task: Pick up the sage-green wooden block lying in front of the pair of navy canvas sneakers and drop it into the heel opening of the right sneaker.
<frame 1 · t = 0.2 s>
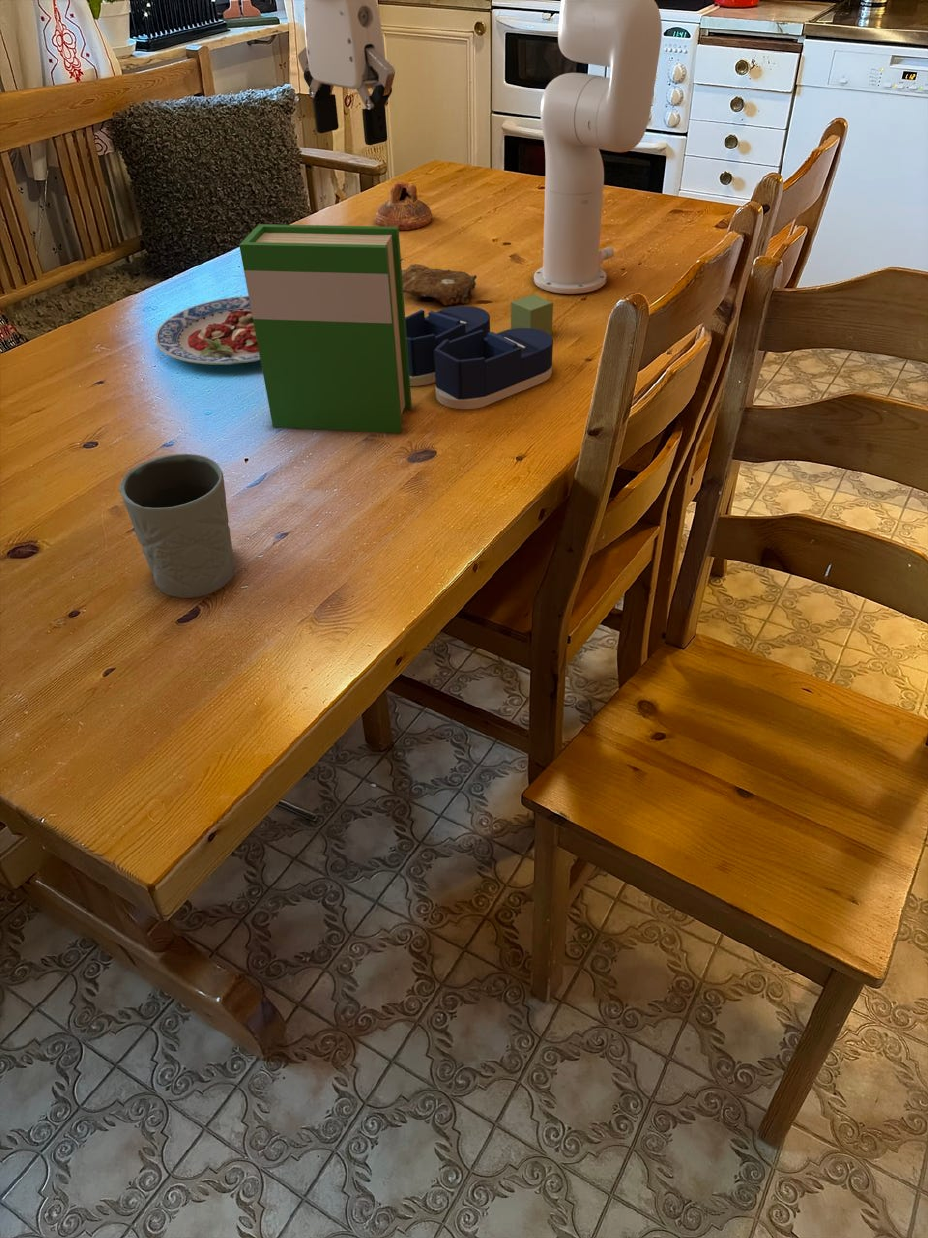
hand: (351, 136, 116), 31 cm above the table, tool pointing down, fingers open, 9 cm apart
green block: (531, 334, 143), on the table
ceramic plate: (241, 341, 145), on the table
grey embossed cup: (198, 575, 99), on the table
decorative rock: (431, 295, 157), on the table
sneaker 2: (494, 383, 131), on the table
sneaker 1: (439, 360, 137), on the table
hardback book: (343, 418, 125), on the table
bell: (404, 222, 188), on the table
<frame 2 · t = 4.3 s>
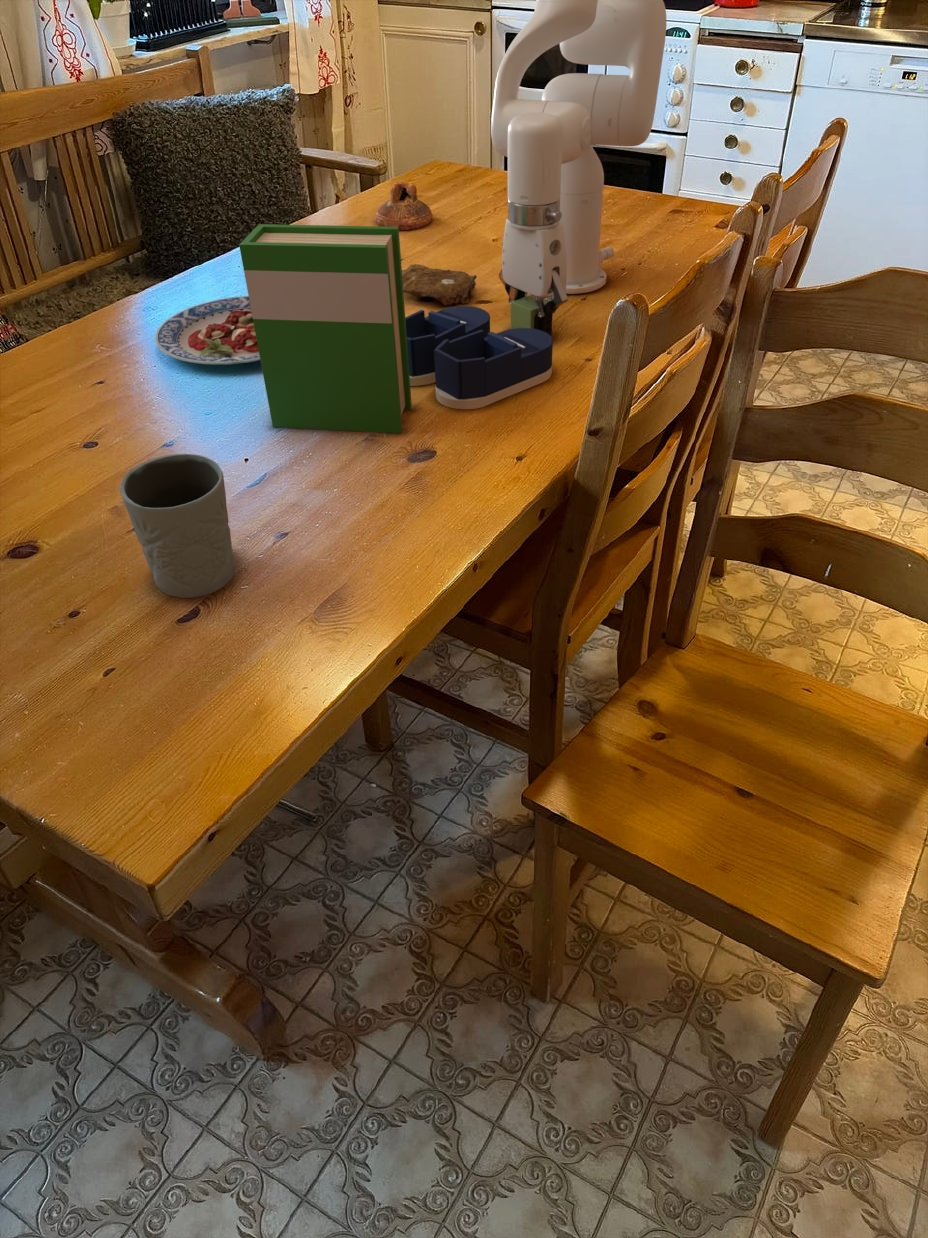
hand: (531, 332, 143), 0 cm above the table, tool pointing down, fingers closed on green block, 4 cm apart
green block: (531, 334, 143), on the table, touching gripper
everything else where it was.
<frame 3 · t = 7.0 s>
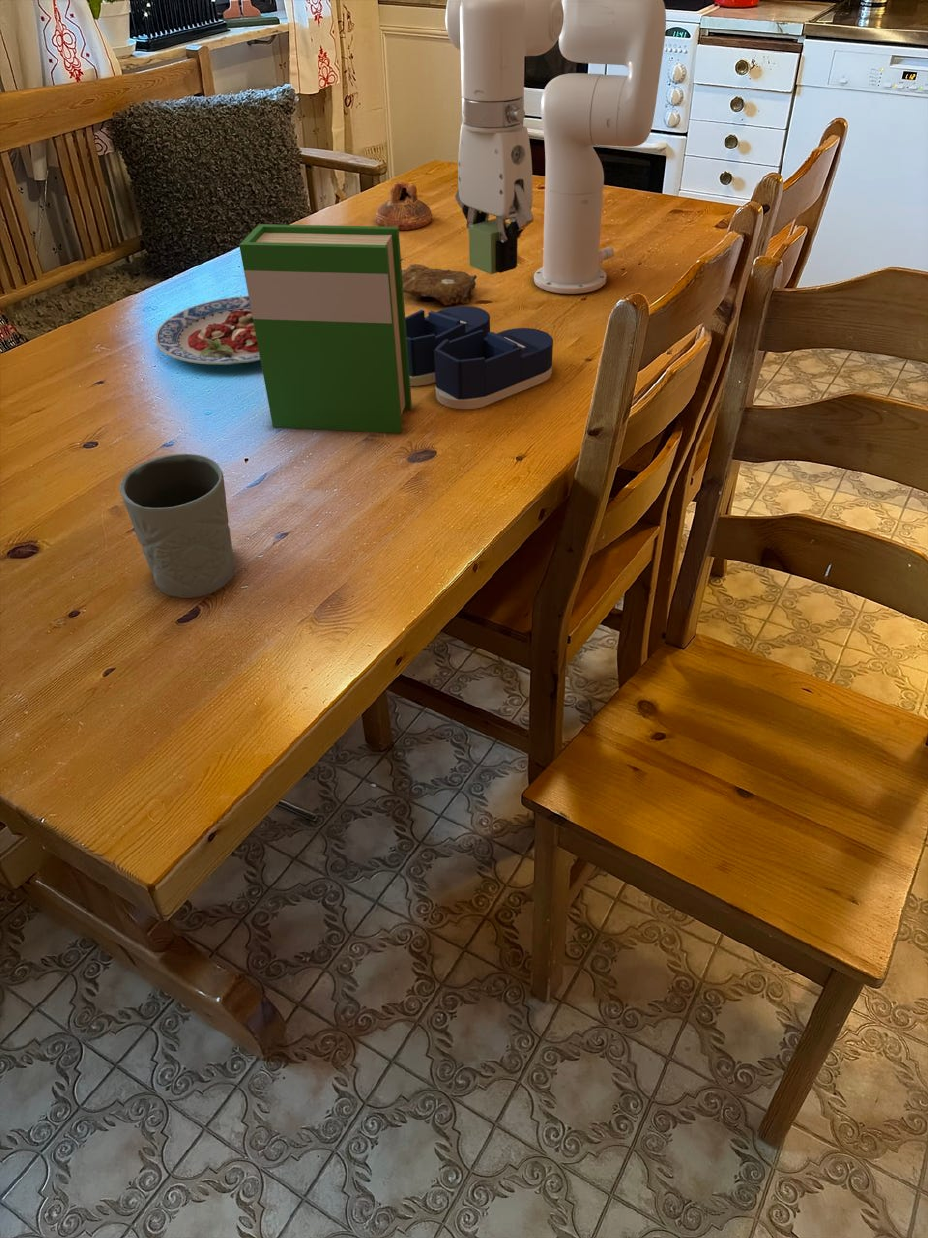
hand: (493, 263, 123), 16 cm above the table, tool pointing down, fingers closed on green block, 4 cm apart
green block: (493, 265, 123), point 16 cm above the table, touching gripper
everything else where it was.
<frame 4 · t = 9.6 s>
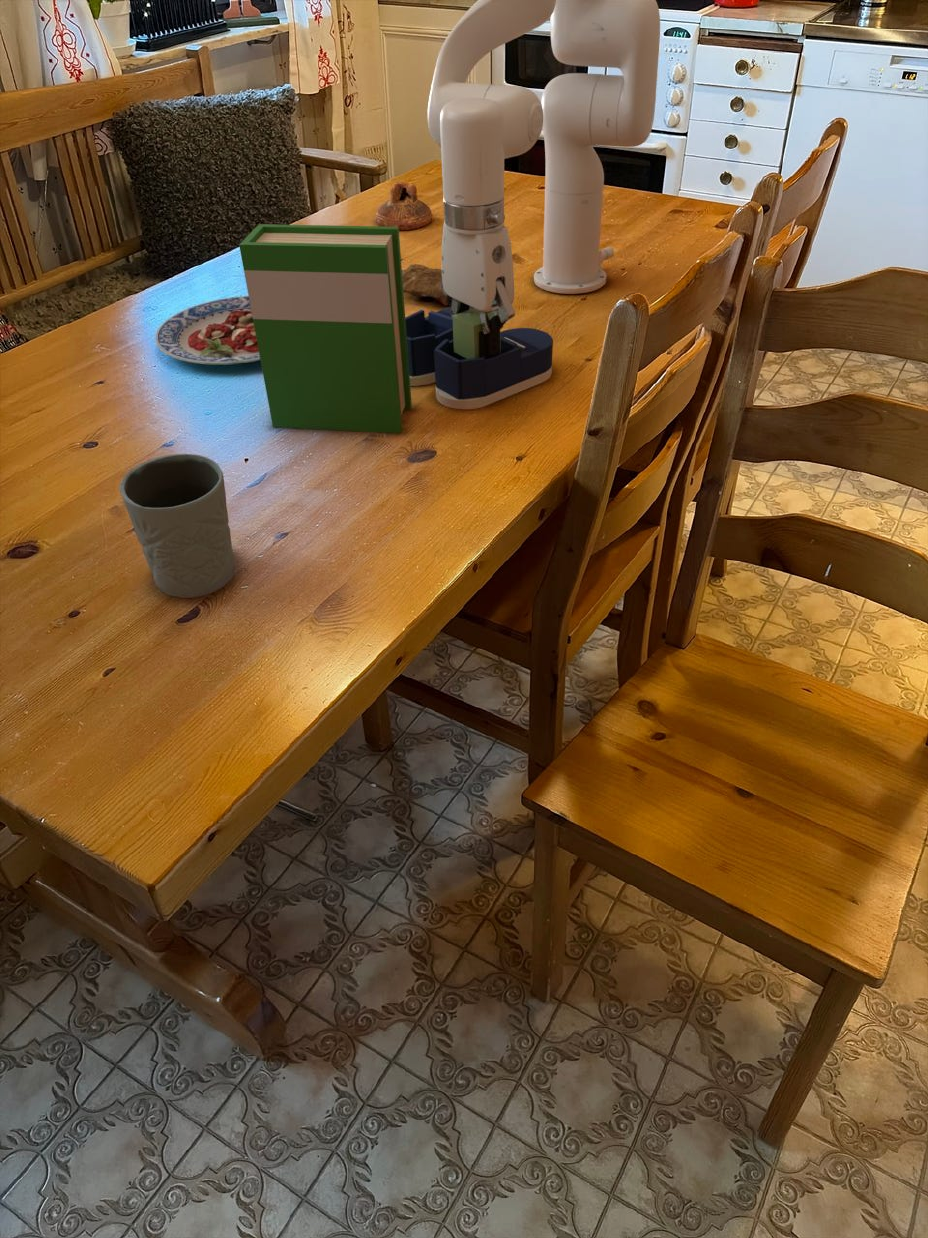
hand: (477, 350, 126), 6 cm above the table, tool pointing down, fingers closed on green block, 4 cm apart
green block: (477, 352, 126), point 6 cm above the table, touching gripper
everything else where it was.
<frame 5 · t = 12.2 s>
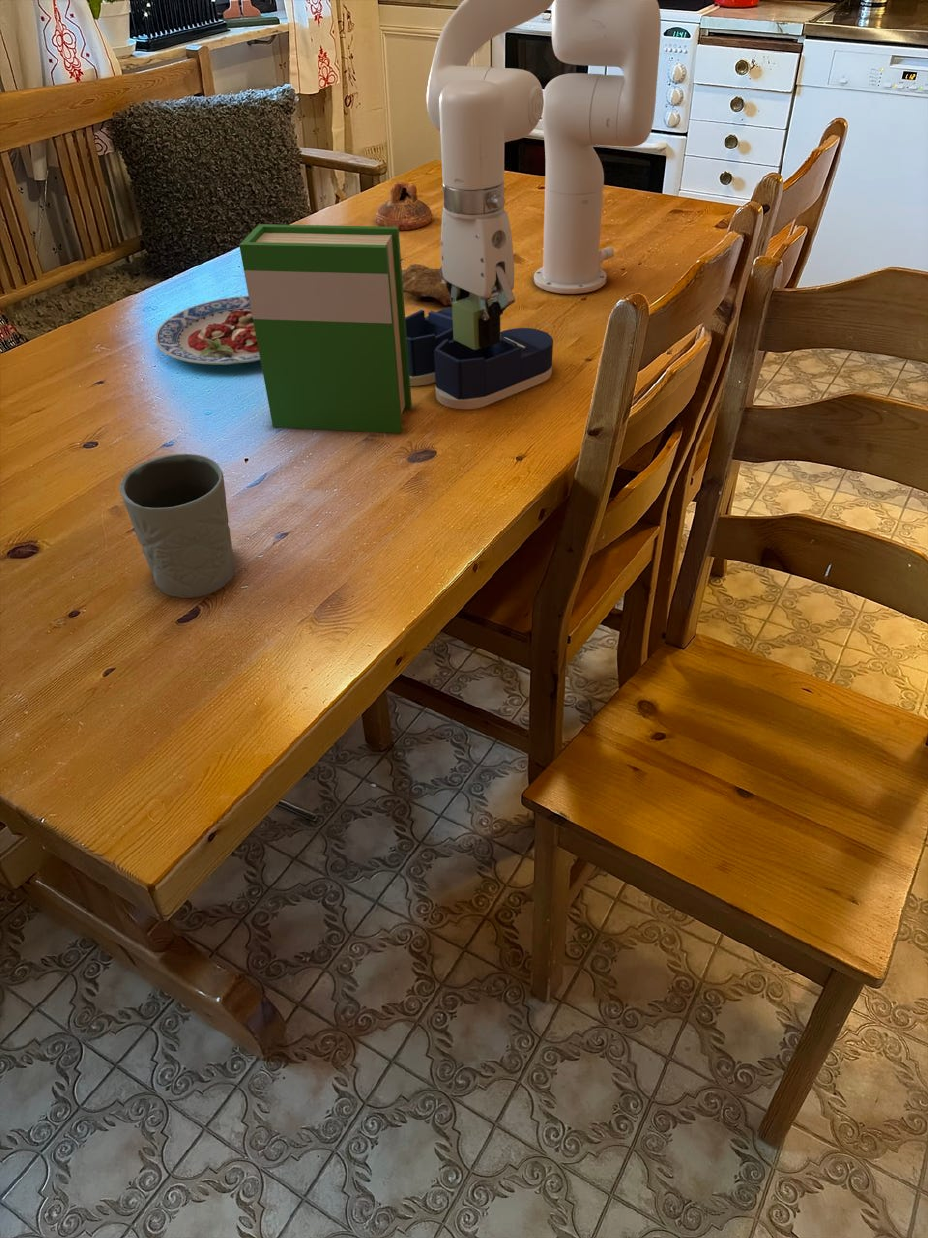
hand: (477, 337, 124), 8 cm above the table, tool pointing down, fingers closed on green block, 4 cm apart
green block: (477, 339, 125), point 7 cm above the table, touching gripper
everything else where it was.
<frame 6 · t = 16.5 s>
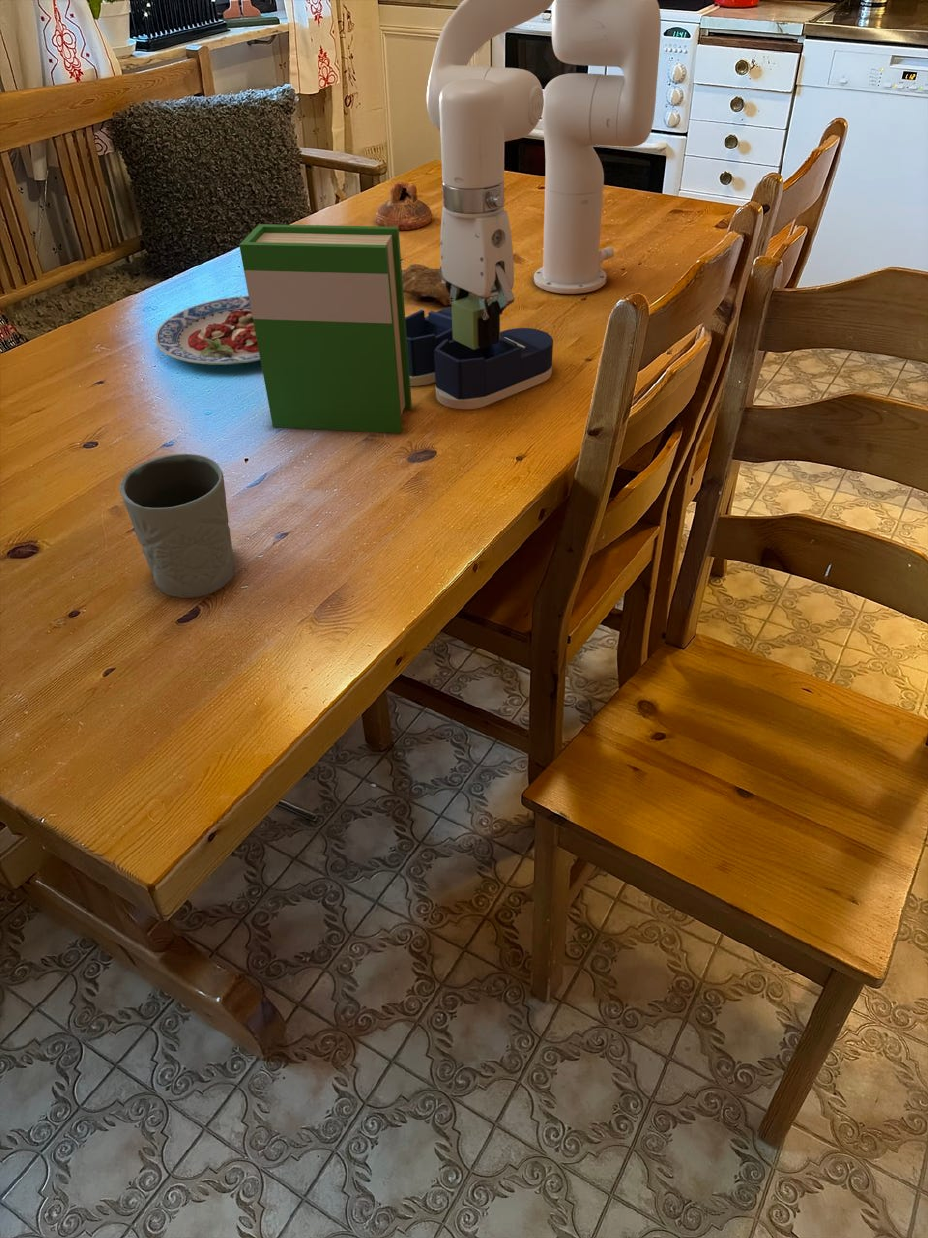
hand: (476, 337, 124), 8 cm above the table, tool pointing down, fingers closed on green block, 4 cm apart
green block: (476, 339, 124), point 8 cm above the table, touching gripper
everything else where it was.
when the fingers open (8 cm above the table, at t = 20.2 s): green block drops 6 cm, resting on sneaker 2.
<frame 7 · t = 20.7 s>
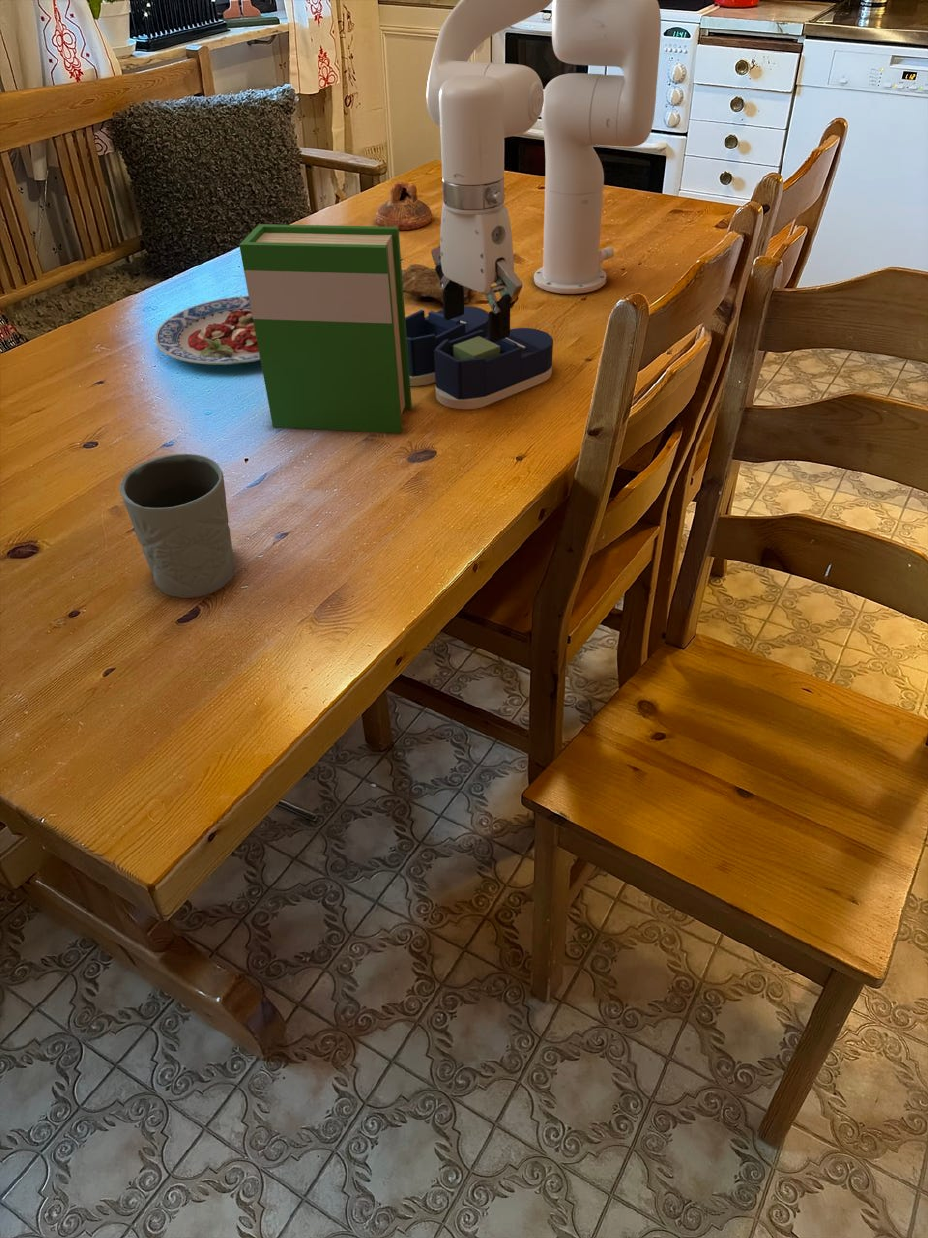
hand: (476, 327, 123), 9 cm above the table, tool pointing down, fingers open, 9 cm apart
green block: (477, 380, 128), point 2 cm above the table, touching sneaker 2
everything else where it was.
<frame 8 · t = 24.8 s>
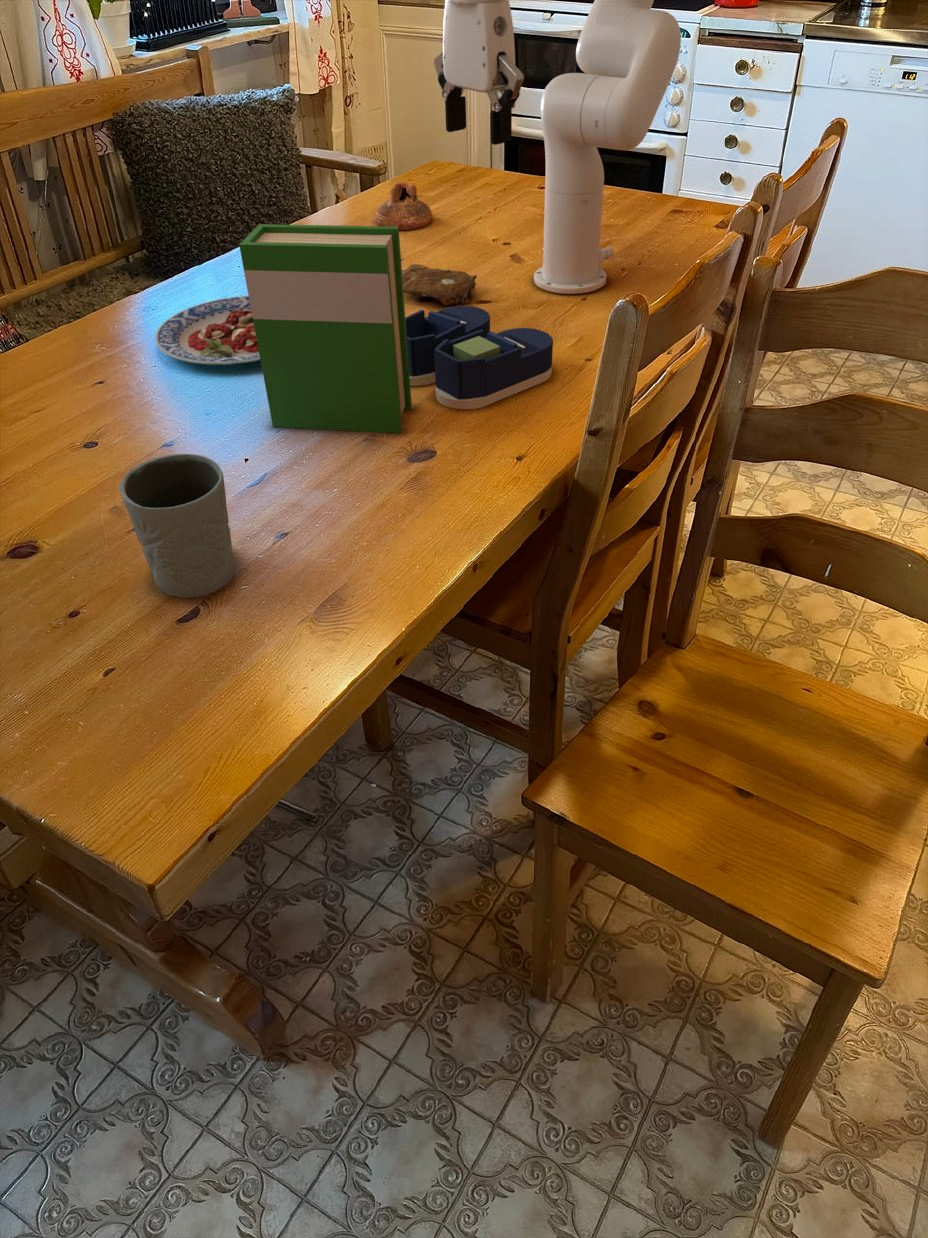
hand: (478, 136, 126), 28 cm above the table, tool pointing down, fingers open, 9 cm apart
nothing on the table moved.
at the end: green block inside the target area on the sneaker 2 (0.3 cm from its centre), point 1.5 cm above the sneaker 2's base; the gripper is holding nothing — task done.
